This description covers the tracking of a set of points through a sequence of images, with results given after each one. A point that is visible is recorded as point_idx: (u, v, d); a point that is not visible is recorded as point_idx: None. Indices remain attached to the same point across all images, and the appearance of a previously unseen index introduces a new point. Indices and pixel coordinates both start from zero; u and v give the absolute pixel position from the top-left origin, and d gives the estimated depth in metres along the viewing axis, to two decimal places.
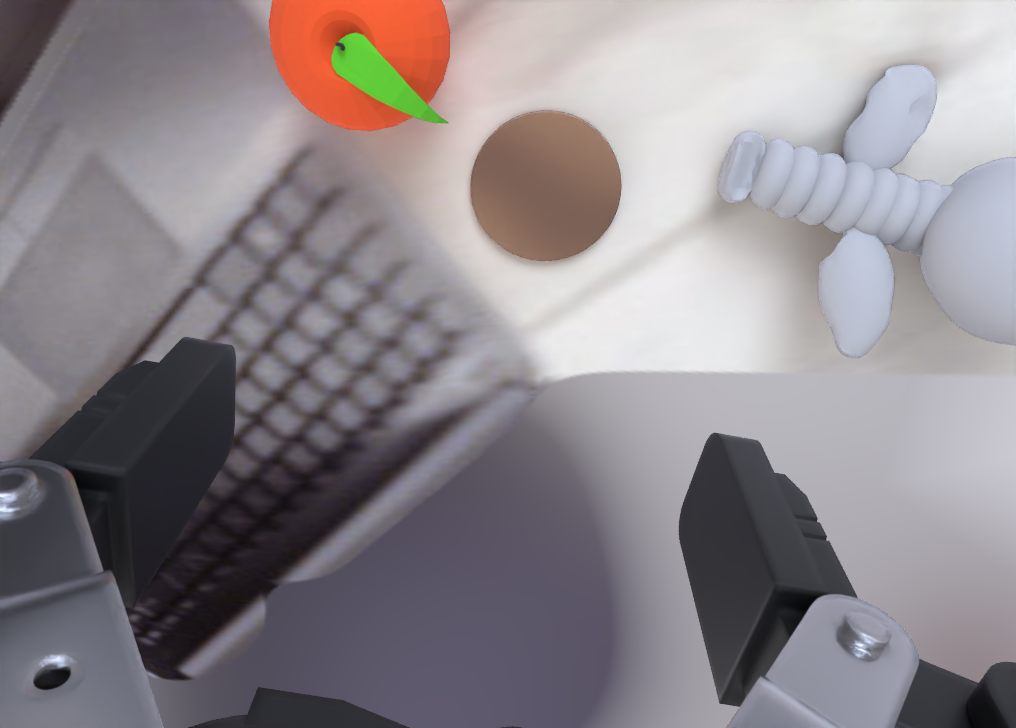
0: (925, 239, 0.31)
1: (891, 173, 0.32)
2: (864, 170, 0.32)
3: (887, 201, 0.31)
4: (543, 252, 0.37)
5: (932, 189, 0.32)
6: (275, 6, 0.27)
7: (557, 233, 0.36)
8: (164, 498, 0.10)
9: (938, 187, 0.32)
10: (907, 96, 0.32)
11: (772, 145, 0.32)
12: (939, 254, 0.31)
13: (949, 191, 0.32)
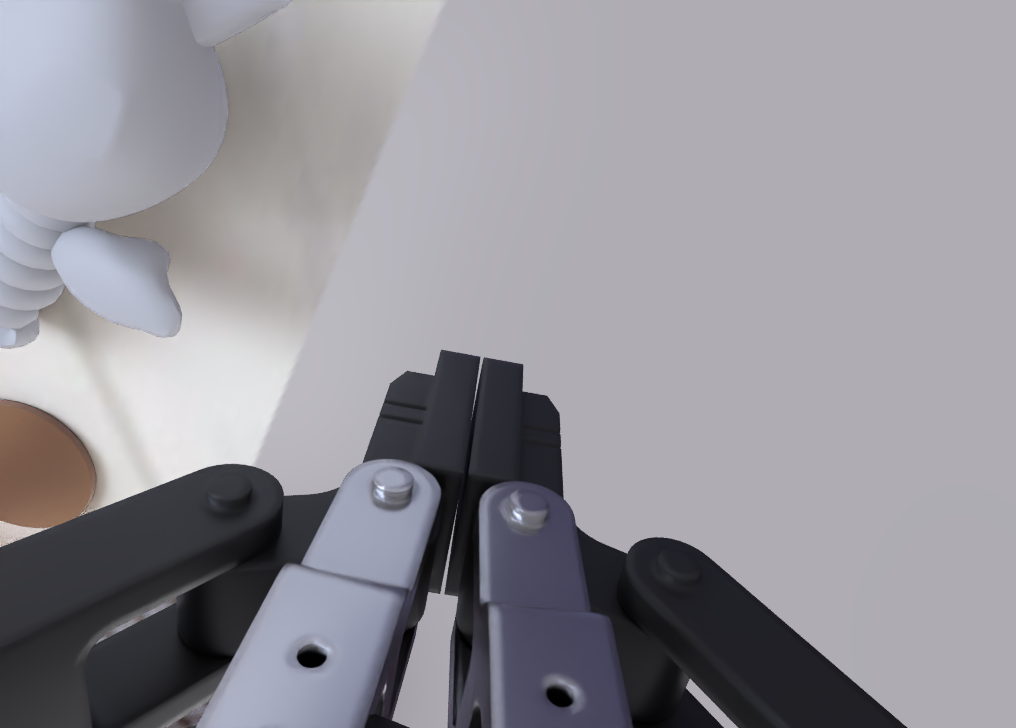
0: None
1: None
2: None
3: (5, 218, 0.26)
4: (81, 494, 0.35)
5: None
6: None
7: (62, 476, 0.35)
8: None
9: None
10: None
11: None
12: None
13: None
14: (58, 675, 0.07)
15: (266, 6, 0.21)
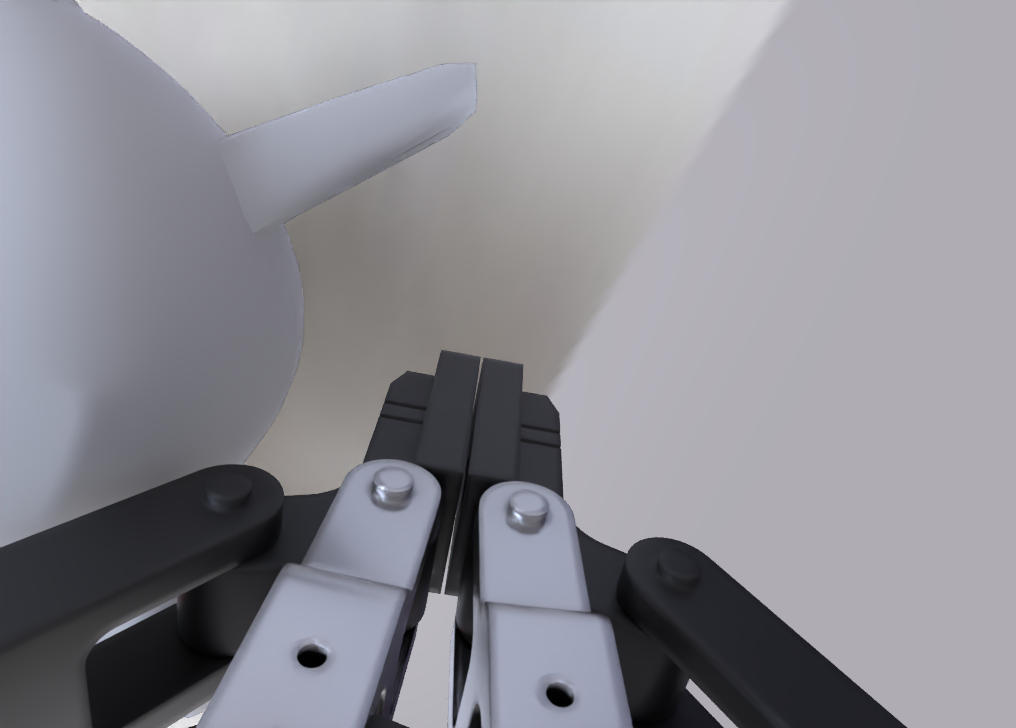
0: None
1: None
2: None
3: None
4: None
5: None
6: None
7: None
8: None
9: None
10: None
11: None
12: None
13: None
14: (58, 675, 0.07)
15: (406, 141, 0.09)
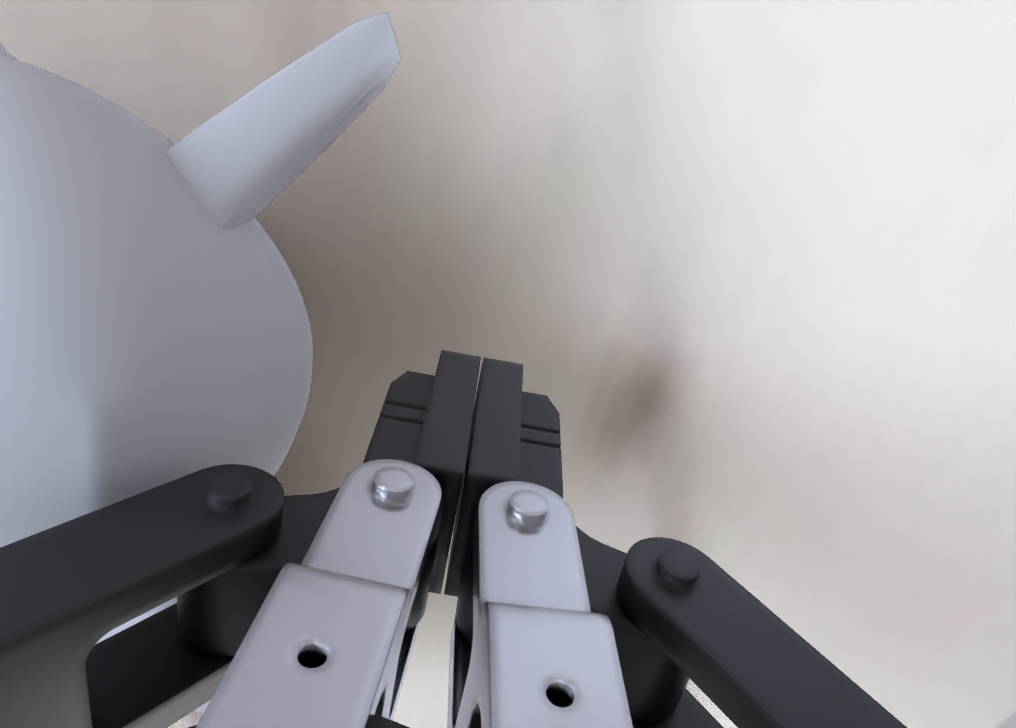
0: None
1: None
2: None
3: None
4: None
5: None
6: None
7: None
8: None
9: None
10: None
11: None
12: None
13: None
14: (58, 675, 0.07)
15: (342, 106, 0.10)
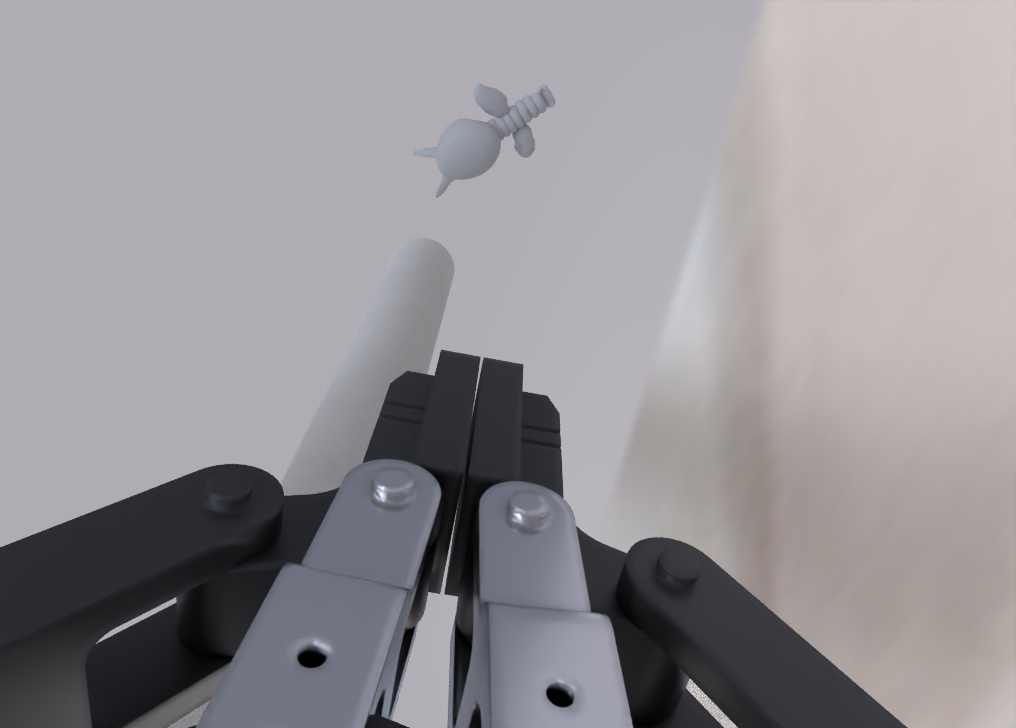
0: (494, 128, 0.97)
1: (514, 131, 0.99)
2: (521, 126, 0.98)
3: (511, 126, 0.98)
4: None
5: (502, 138, 0.99)
6: None
7: None
8: None
9: (501, 140, 0.99)
10: (527, 148, 1.01)
11: (546, 108, 0.98)
12: (492, 129, 0.96)
13: None
14: (58, 675, 0.07)
15: (421, 150, 0.99)
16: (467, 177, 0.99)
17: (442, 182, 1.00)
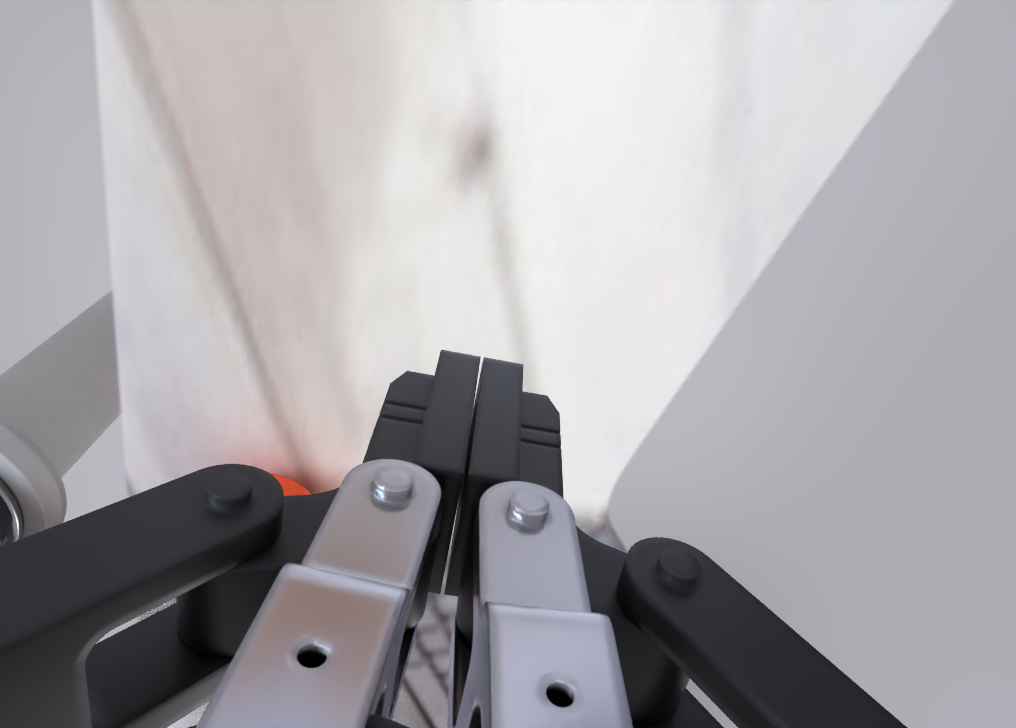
0: None
1: None
2: None
3: None
4: None
5: None
6: None
7: None
8: None
9: None
10: None
11: None
12: None
13: None
14: (58, 675, 0.07)
15: None
16: None
17: None
